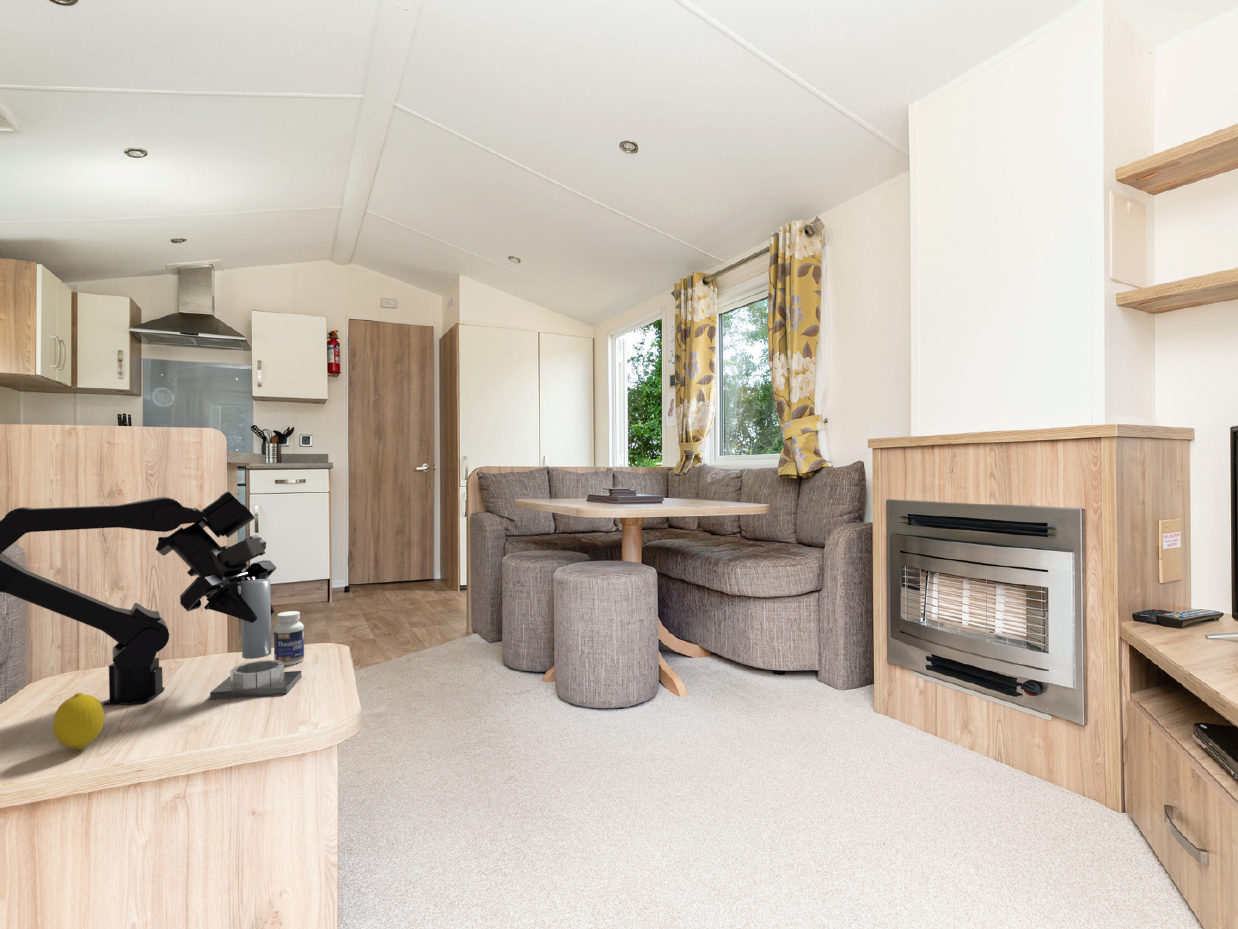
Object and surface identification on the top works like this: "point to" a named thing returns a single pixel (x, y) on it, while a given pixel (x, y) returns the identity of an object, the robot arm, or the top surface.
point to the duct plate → (256, 692)
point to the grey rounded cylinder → (258, 632)
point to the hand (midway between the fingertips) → (263, 617)
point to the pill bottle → (289, 638)
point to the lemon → (78, 721)
